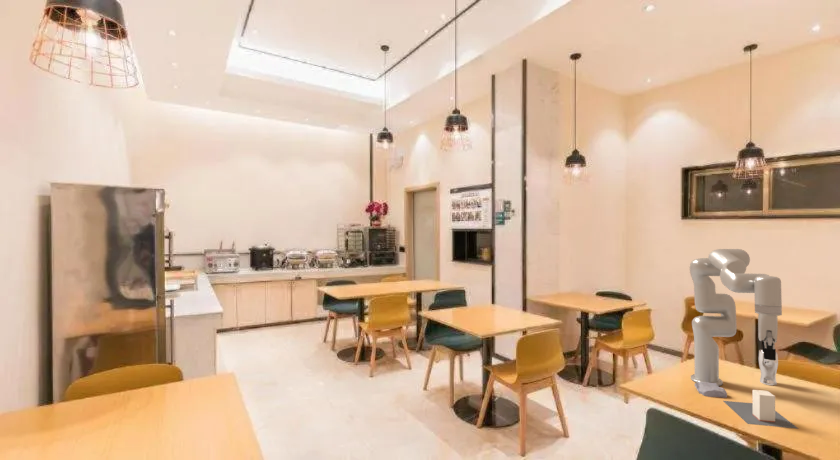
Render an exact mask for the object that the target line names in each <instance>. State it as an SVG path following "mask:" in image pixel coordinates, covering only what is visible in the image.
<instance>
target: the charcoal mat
mask: <svg viewBox="0 0 840 460" xmlns="http://www.w3.org/2000/svg"><path fill="white" fill-rule="evenodd" d="M722 402H723V403H725V405H727V406H728V407H729V408H730V409H731V410H732V411H733V413H735V414H736V415H737V416H738V417H739V418H741V419H742V420H743V421H744V422H745V423H746V424H747V425H757V426H767V427H775V428H776V427H777V428H785V429H787V428H789V429H797V430H798V429H799V427H797V425H795V424H793V423H792V422H791V421H790V420H788V419H787V418H785V417H784V416H783V415H782V414H780V413H779V412H778V411H776V410H775V422H766V421H759V420H758V419H757V418H756V417H755V416H753V402H743V401H731V400H730V401H729V400H722Z"/></svg>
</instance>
